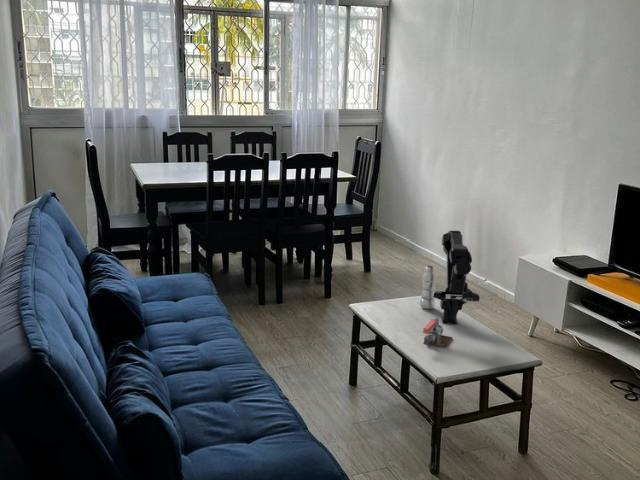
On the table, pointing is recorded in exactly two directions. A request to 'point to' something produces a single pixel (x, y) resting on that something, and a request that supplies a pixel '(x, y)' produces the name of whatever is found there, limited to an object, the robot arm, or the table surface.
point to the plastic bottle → (428, 288)
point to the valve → (437, 338)
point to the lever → (431, 325)
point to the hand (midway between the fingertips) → (453, 317)
